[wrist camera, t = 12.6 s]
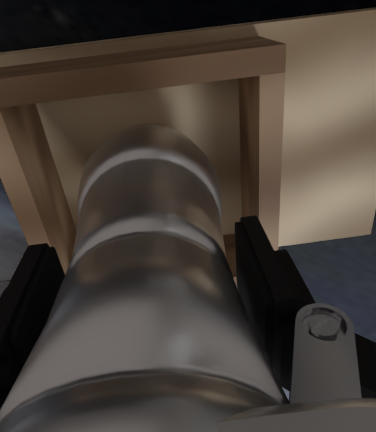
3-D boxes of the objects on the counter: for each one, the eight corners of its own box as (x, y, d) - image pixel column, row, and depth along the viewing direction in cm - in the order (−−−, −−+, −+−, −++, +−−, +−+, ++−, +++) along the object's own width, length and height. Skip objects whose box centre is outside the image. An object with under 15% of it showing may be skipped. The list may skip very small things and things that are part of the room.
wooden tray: (-2, 52, 17) (-59, 70, 13) (398, 4, 18) (487, 4, 13) (71, 260, 24) (51, 322, 19) (359, 222, 24) (408, 274, 20)
